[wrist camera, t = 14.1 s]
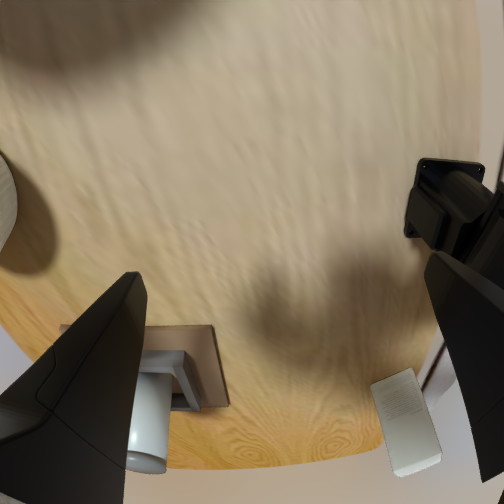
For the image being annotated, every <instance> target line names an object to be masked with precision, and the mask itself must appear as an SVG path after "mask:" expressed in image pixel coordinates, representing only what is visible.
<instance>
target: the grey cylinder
mask: <svg viewBox="0 0 504 504" xmlns="http://www.w3.org/2000/svg"><path fill="white" fill-rule="evenodd" d="M172 388H173V376H172V374H171V373H156V372H139V373H138V379H137V385H136V392H135V398H134V405H133V412H132V419H131V426H130V434H129V443H128V451H127V461H126V469H127V470H130V471H134V472H139V473H145V474H163V473H165V472H166V467H167V450H168V435H169V422H170V410H171V399H172Z"/></svg>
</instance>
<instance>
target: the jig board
mask: <svg viewBox="0 0 504 504" xmlns="http://www.w3.org/2000/svg"><path fill="white" fill-rule="evenodd" d="M70 326H71V325H61V326H60V328H59V330H60V331H61V333H62V334H63V333H64V332H65V331H66V330H67V329H68V328H69V327H70ZM139 372H156V373H171V374H172V376H173V388H172V399H171V410H170V411H195V412H201V408H202V407H229V403H228V399H227V395H226V390H225V386H224V382H223V377H222V373H221V368H220V364H219V359H218V355H217V350H216V345H215V340H214V336H213V331H212V326H211V325H190V326H145V334H144V344H143V351H142V356H141V362H140V367H139Z"/></svg>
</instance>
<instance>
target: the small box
mask: <svg viewBox="0 0 504 504" xmlns="http://www.w3.org/2000/svg"><path fill="white" fill-rule="evenodd" d="M370 389H371V392H372V395H373V399H374V402H375V406H376V409H377V413H378V416H379V420H380V424H381V428H382V431H383V435H384V439H385V443H386V446H387V450H388V454H389V458H390V462H391V467H392V471H393V473H394V474H395V475H396V476H398V477H404V476H407V475H410V474H412V473H415V472H417V471H420V470H423V469H425V468H427V467H429V466H432V465H434V464H436V463H439V462H441V460H442V450H441V447H440V444H439V441H438V438H437V435H436V432H435V428H434V425H433V423H432V420H431V417H430V414H429V411H428V408H427V405H426V403H425V400H424V397H423V394H422V391H421V389H420V386H419V384H418V381H417V378H416V375H415V373H414V370H413V368H412V367H410V368H408V369H406V370H404V371H401V372H399V373H397V374H395V375H392V376H390V377H388V378H385V379H383V380H380V381H378V382H376V383H373V384H371V385H370Z"/></svg>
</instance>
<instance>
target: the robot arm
mask: <svg viewBox="0 0 504 504" xmlns="http://www.w3.org/2000/svg"><path fill="white" fill-rule="evenodd" d="M425 163H427V165H426V167H424V164H425ZM479 169H480V170H479ZM484 173H485V167H484V166H483V165H482V164H481V163H476V162H467V161H458V160H447V159H435V158H422V159H420V161H419V163H418V167H417V173H416V178H415V183H414V187H413V188H412V193H411V198H410V203H409V207H408V212H407V220H406V224H405V229H404V233H405V235H406V236H407V237H408V238H419V237H422V238H423V239H424V241H425V242H426V243H427V245H428V246H429V248H430V249H431V250H435V251H436V252H433V253H431V254H430V257H429V260H428V263H427V265H426V268H425V271H424V279H425V283H426V286H427V289H428V292H429V295H430V299H431V302H432V306H433V309H434V313H435V316H436V319H437V322H438V324H439V327H440V330H441V332H442V335H443V338H444V341H445V343H446V346H447V349H448V352H449V355H450V358H451V361H452V364H453V367H454V370H455V373H456V376H457V379H458V382H459V386H460V389H461V392H462V396H463V399H464V403H465V406H466V410H467V414H468V418H469V422H470V426H471V427H472V428H471V431H472V435H473V439H474V444H475V449H476V453H477V458H478V464H479V469H480V475H481V480H482V483H484V482H486V481H488V480H490V479H491V478H493V477H495V476H497V475H499V474H500V473H502V472H504V182H503V181H501V180H499V183H498V185H497V190H496V192H495V194H493V193H492V192H491V191H490V190H489V189H487V188H486V187H485V186H484V185H483V184H482V181H483V177H484ZM411 230H412V231H411ZM409 231H411V232H409ZM146 309H147V291H146V288H145V285H144V283H143V280H142V276H141V274H140V273H139V272H137V271H136V272H126V273H125V274H123V275H122V276H121V277H120V278H119V279H118V280H117V281H116V282H115V283H114V284H113V285H112V286H111V287H110V288H109V289H108V290H106V291H105V292H104V293H103V294H102V295H101V296H100V297H99V298H98V299H97V300H96V301H95V302H94V303H93V304H92V305H91V306H90V307H89V308H88V309H87V310H86V311H85V312H84V313H83V314H82V315H81V316H80V317H79V318H78V319H77V320H76V321H75V322H74V323H73V324H72V325H71V326H70V327H69V328H68V329H67V330H66V331H65V332H64V333H63V334H62V335H61V336H60V337H59V338H58V339H57V340H56V341H55V342H54V343H53V345H51V346H50V347H49V348H48V349H47V351H46V352H45V353H44V354H43V355H42V356H41V357H40V358H39V359H38V360H37V361H36V362H35V363H34V364H33V365H32V366H31V367H30V368H29V369H28V370H27V371H25V373H23V374H22V375H21V376H20V377H19V378H18V379H17V380H16V381H15V382H14V383H13V384H12V385H10V386H9V387H8V388H7V389H6V390H5V391H4V392H3V393H2V394H1V395H0V504H123V497H124V484H125V472H126V471H125V469H126V461H127V451H128V443H129V434H130V426H131V419H132V412H133V405H134V398H135V392H136V385H137V379H138V373H139V367H140V362H141V356H142V351H143V344H144V334H145V321H146ZM498 504H504V490H503V492H502V495H501V497H500V500H499V502H498Z"/></svg>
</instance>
